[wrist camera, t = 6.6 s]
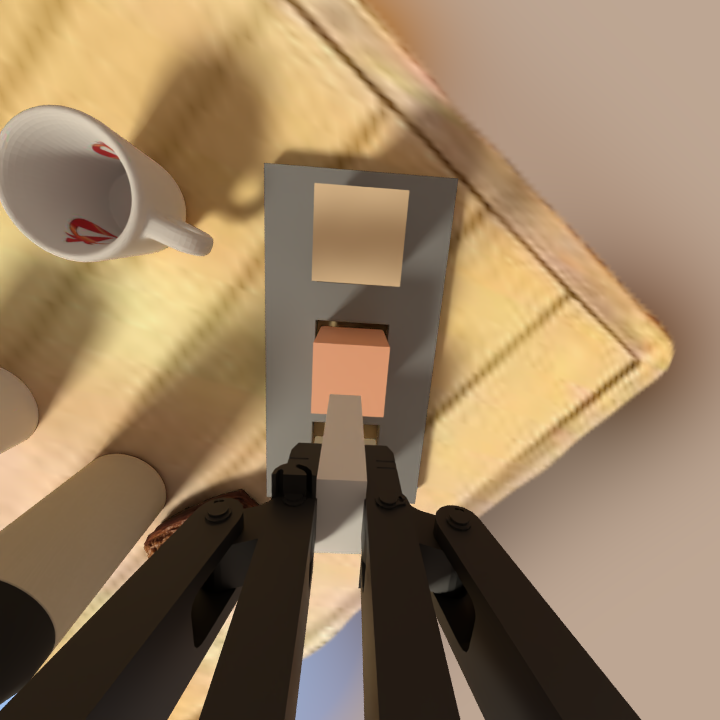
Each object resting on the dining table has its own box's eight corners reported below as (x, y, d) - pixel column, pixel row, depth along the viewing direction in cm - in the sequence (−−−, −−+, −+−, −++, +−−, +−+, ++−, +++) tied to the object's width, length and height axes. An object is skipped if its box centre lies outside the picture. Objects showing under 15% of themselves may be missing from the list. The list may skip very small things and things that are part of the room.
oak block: (324, 202, 24) (314, 183, 18) (395, 207, 24) (409, 190, 18) (321, 276, 25) (311, 280, 19) (389, 281, 25) (399, 286, 19)
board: (269, 168, 26) (264, 163, 24) (452, 183, 26) (458, 178, 25) (270, 485, 34) (266, 496, 32) (412, 492, 34) (414, 503, 32)
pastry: (301, 554, 36) (291, 609, 31) (206, 595, 38) (179, 653, 32) (247, 474, 33) (225, 517, 28) (145, 521, 35) (105, 571, 29)
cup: (250, 202, 26) (208, 178, 19) (214, 295, 28) (162, 307, 21) (112, 129, 25) (5, 70, 17) (84, 232, 27) (-24, 220, 19)
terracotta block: (321, 325, 28) (313, 342, 22) (382, 329, 28) (390, 347, 22) (319, 383, 29) (311, 413, 23) (377, 386, 29) (383, 417, 24)
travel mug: (107, 436, 32) (-187, 645, 14) (183, 481, 33) (-3, 719, 16) (70, 494, 33) (-235, 743, 16) (143, 534, 35) (-64, 803, 18)
